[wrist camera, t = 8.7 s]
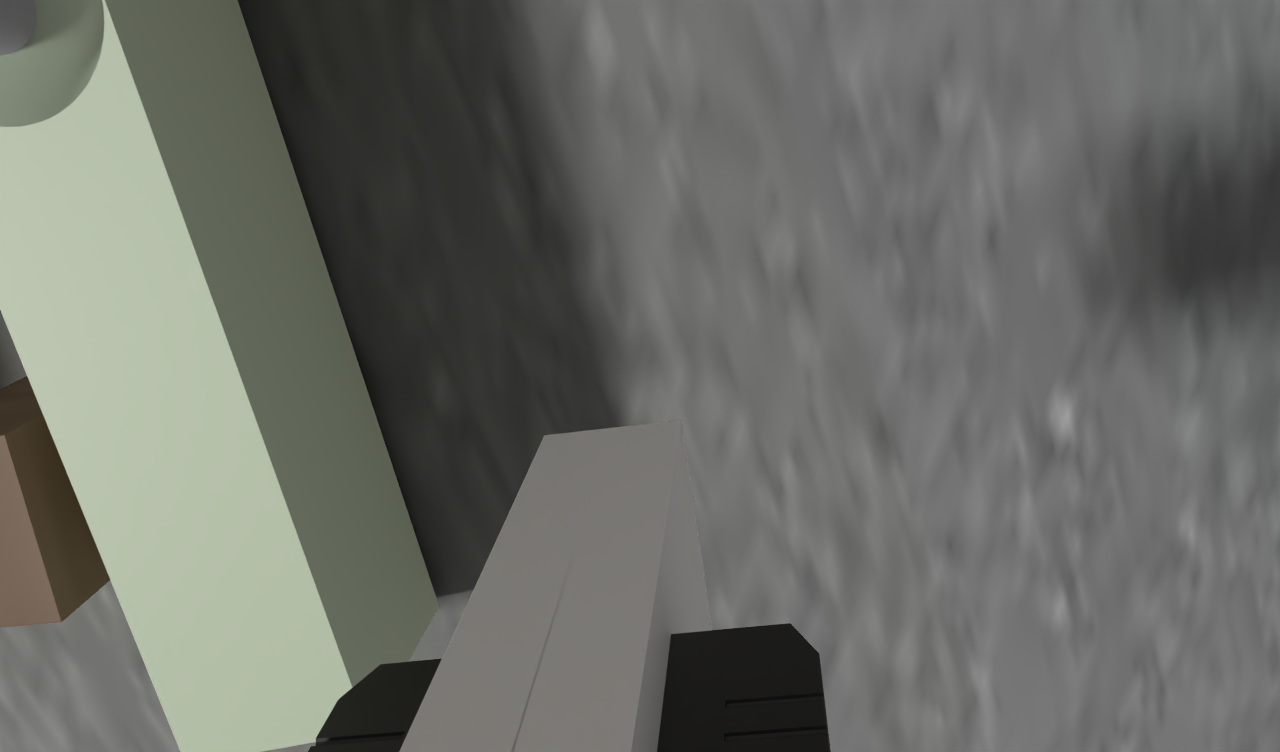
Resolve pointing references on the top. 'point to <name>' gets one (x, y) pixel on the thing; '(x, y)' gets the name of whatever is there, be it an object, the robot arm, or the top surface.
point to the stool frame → (39, 521)
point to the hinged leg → (198, 367)
